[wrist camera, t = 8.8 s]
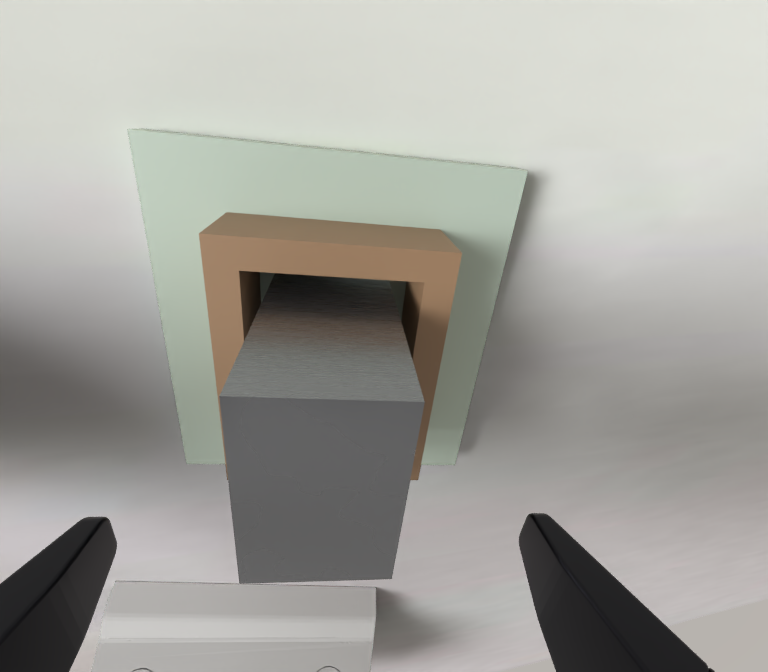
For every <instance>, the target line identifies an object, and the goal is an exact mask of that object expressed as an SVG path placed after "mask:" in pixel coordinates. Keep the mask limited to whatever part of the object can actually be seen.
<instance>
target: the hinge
mask: <svg viewBox="0 0 768 672" xmlns="http://www.w3.org/2000/svg"><path fill="white" fill-rule="evenodd" d="M375 621H376V587H341V586H299V585H258V584H216V583H174V582H132V581H115V583H114V586H113V588H112V591H111V594H110V596H109V599H108V601H107V604H106V607H105V609H104V612H103V616H102V622H101V629H100V636H99V641H98V646H97V649H96V653H95V657H94V661H93V665H92V669H91V672H370V670H371V660H372V651H373V641H374V631H375Z"/></svg>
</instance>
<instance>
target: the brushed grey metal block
mask: <svg viewBox="0 0 768 672" xmlns="http://www.w3.org/2000/svg"><path fill="white" fill-rule="evenodd" d="M219 399H220V408H221V417H222V426H223V436H224V445H225V454H226V463H227V473H228V482H229V491H230V500H231V510H232V519H233V528H234V537H235V546H236V556H237V565H238V574H239V583H240V584H241V583H274V582H307V581H340V580H374V579H392V574H393V569H394V564H395V558H396V553H397V548H398V542H399V537H400V532H401V526H402V521H403V516H404V510H405V505H406V500H407V494H408V489H409V484H410V478H411V473H412V468H413V462H414V457H415V452H416V446H417V441H418V436H419V430H420V425H421V420H422V414H423V409H424V404H425V401H424V398H423V394H422V391H421V387H420V384H419V381H418V377H417V374H416V370H415V367H414V364H413V360H412V357H411V353H410V350H409V347H408V343H407V340H406V336H405V333H404V329H403V326H402V323H401V319H400V316H399V312H398V309H397V306H396V302H395V299H394V295H393V292H392V289H391V285H390V282H389V280H376V279H361V278H345V277H329V276H314V275H298V274H282V273H275V274H274V276H273V279H272V281H271V283H270V285H269V287H268V290H267V292H266V294H265V296H264V298H263V301H262V303H261V305H260V307H259V309H258V312H257V314H256V316H255V318H254V321H253V323H252V325H251V327H250V329H249V332H248V334H247V336H246V338H245V340H244V343H243V345H242V347H241V349H240V351H239V354H238V356H237V358H236V360H235V362H234V365H233V367H232V369H231V371H230V374H229V376H228V378H227V380H226V382H225V385H224V387H223V389H222V391H221V393H220V396H219Z"/></svg>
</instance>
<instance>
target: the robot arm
mask: <svg viewBox="0 0 768 672" xmlns="http://www.w3.org/2000/svg"><path fill="white" fill-rule="evenodd" d="M519 546H520V551H521V554H522V558H523V562H524V566H525V570H526V574H527V578H528V582H529V586H530V590H531V594H532V598H533V602H534V606H535V610H536V613H537V617H538V620H539V623H540V627H541V630H542V633H543V635H544V638H545V641H546V644H547V647H548V650H549V652H550V655H551V658H552V661H553V664H554V667H555V669H556V672H714V670H712V669H711V668H708V666H707V664H706V663H705V662H704V661H703V660H701V658H699V657H698V656H697V655H696V654H695V653H694V652H693V651H692V650H691V649H690V648H689V647H688V646H687V645H686V644H685V643H684V642H683V641H681V640H680V639H679V638H678V637H677V636H676V635H675V634H674V633H673V632H672V631H671V630H670V629H669V628H668V627H667V626H666V625H665V624H664V623H662V622H661V621H660V620H659V619H658V618H657V617H656V616H655V615H654V614H653V613H652V612H651V611H650V610H649V609H648V608H647V607H645V606H644V605H643V604H642V603H641V602H640V601H639V600H638V599H637V598H636V597H635V596H634V595H633V594H632V593H631V592H630V591H629V590H627V589H626V588H625V587H624V586H623V585H622V584H621V583H620V582H619V581H618V580H617V579H616V578H615V577H614V576H613V575H612V574H611V573H609V572H608V571H607V570H606V569H605V568H604V567H603V566H602V565H601V564H600V563H599V562H598V561H597V560H596V559H595V558H594V557H592V556H591V555H590V554H589V553H588V552H587V551H586V550H585V549H584V548H583V547H582V546H581V545H580V544H579V543H578V542H577V541H576V540H574V539H573V538H572V537H571V536H570V535H569V534H568V533H567V532H566V531H565V530H564V529H563V528H562V527H561V526H560V525H559V524H558V523H556V522H555V521H554V520H553V519H552V518H551V517H550V516H549V515H547V514H544V513H531V514H529V515H528V516H527V518H526V520H525V523H524V525H523V528H522V530H521V533H520V536H519ZM116 549H117V542H116V538H115V535H114V532H113V529H112V526H111V523H110V520H109V519H108V518H107V517H86V518H84V519H82V520H80V521H79V522H78V523H76V524H75V525H74V526H73V527H71V528H70V529H69V530H67V531H66V532H65V533H64V534H62V535H61V536H60V537H59V538H57V539H56V540H55V541H54V542H52V543H51V544H50V545H49V546H47V547H46V548H45V549H44V550H42V551H41V552H40V553H39V554H37V555H36V556H35V557H33V558H32V559H31V560H30V561H28V562H27V563H26V564H25V565H23V566H22V567H21V568H20V569H18V570H17V571H16V572H15V573H13V574H12V575H11V576H10V577H8V578H7V579H6V580H5V581H3V582H2V583H1V584H0V672H69V670H70V668H71V666H72V664H73V662H74V660H75V658H76V656H77V654H78V651H79V649H80V647H81V645H82V642H83V640H84V638H85V635H86V633H87V630H88V628H89V625H90V622H91V620H92V617H93V614H94V612H95V609H96V606H97V603H98V601H99V598H100V595H101V592H102V590H103V587H104V584H105V581H106V579H107V576H108V573H109V570H110V568H111V565H112V562H113V559H114V557H115V554H116Z"/></svg>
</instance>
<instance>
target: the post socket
mask: <svg viewBox="0 0 768 672" xmlns="http://www.w3.org/2000/svg"><path fill="white" fill-rule="evenodd" d="M127 131H128V137H129V142H130V148H131V154H132V159H133V165H134V171H135V176H136V182H137V188H138V193H139V199H140V204H141V210H142V216H143V221H144V227H145V233H146V238H147V244H148V249H149V255H150V261H151V266H152V272H153V278H154V283H155V289H156V295H157V300H158V306H159V311H160V317H161V323H162V328H163V334H164V340H165V345H166V351H167V357H168V362H169V368H170V373H171V379H172V385H173V390H174V396H175V402H176V407H177V413H178V419H179V424H180V430H181V435H182V441H183V447H184V452H185V458H186V464H225V465H226V473H227V463H226V454H225V445H224V436H223V426H222V417H221V408H220V399H219V396H220V393H221V391H222V389H223V387H224V385H225V382H226V380H227V378H228V376H229V374H230V371H231V369H232V367H233V365H234V362H235V360H236V358H237V356H238V354H239V351H240V349H241V347H242V345H243V343H244V340H245V338H246V336H247V334H248V332H249V329H250V327H251V325H252V323H253V321H254V318H255V316H256V314H257V312H258V309H259V307H260V305H261V303H262V301H263V298H264V296H265V294H266V292H267V290H268V287H269V285H270V283H271V281H272V279H273V276H274V274H275V273H282V274H298V275H314V276H329V277H345V278H361V279H376V280H389V282H390V285H391V289H392V292H393V295H394V299H395V302H396V306H397V309H398V312H399V316H400V319H401V323H402V326H403V329H404V333H405V336H406V340H407V343H408V347H409V350H410V353H411V357H412V360H413V364H414V367H415V370H416V374H417V377H418V381H419V384H420V387H421V391H422V394H423V398H424V401H425V404H424V409H423V414H422V420H421V425H420V430H419V436H418V441H417V446H416V452H415V457H414V462H413V468H412V473H411V478H410V480H418V478H419V472H420V467H421V465H455V463H456V459H457V455H458V451H459V447H460V443H461V439H462V435H463V431H464V427H465V423H466V419H467V415H468V411H469V407H470V403H471V399H472V394H473V390H474V386H475V382H476V378H477V374H478V370H479V366H480V362H481V358H482V354H483V350H484V346H485V342H486V338H487V334H488V330H489V326H490V322H491V318H492V314H493V310H494V306H495V302H496V298H497V294H498V290H499V286H500V282H501V278H502V274H503V270H504V266H505V262H506V258H507V254H508V250H509V246H510V242H511V238H512V234H513V230H514V226H515V222H516V218H517V214H518V210H519V205H520V201H521V197H522V193H523V189H524V185H525V181H526V177H527V173H528V171H527V170H523V169H519V168H513V167H503V166H494V165H484V164H475V163H465V162H456V161H446V160H436V159H427V158H417V157H408V156H398V155H388V154H379V153H369V152H360V151H350V150H341V149H331V148H321V147H312V146H302V145H293V144H283V143H273V142H264V141H254V140H245V139H235V138H226V137H216V136H206V135H197V134H187V133H178V132H168V131H158V130H149V129H127ZM227 480H228V473H227Z"/></svg>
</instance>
